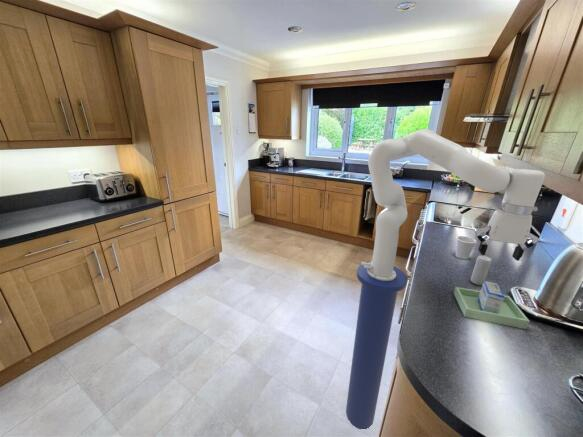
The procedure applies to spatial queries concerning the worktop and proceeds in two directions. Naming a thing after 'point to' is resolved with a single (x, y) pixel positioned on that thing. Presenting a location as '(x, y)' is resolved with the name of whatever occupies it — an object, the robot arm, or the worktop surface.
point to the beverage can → (481, 270)
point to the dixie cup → (464, 246)
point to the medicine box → (490, 297)
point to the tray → (506, 315)
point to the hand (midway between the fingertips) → (498, 256)
